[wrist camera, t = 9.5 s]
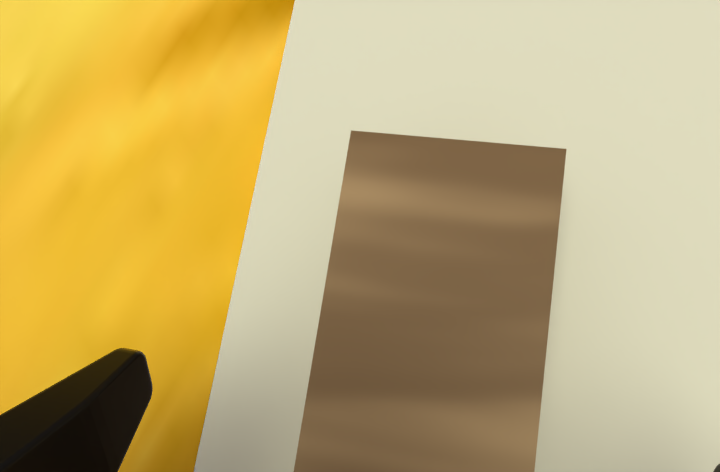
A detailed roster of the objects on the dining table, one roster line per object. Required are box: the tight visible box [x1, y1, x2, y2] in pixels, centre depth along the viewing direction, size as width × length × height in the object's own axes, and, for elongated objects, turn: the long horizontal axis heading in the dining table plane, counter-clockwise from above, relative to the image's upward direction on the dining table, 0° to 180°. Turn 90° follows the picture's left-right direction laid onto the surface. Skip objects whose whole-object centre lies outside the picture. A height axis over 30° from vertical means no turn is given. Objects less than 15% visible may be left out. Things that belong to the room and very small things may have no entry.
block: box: [294, 130, 566, 472], centre depth 15 cm, size 3×5×12 cm
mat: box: [194, 0, 720, 472], centre depth 17 cm, size 24×18×1 cm
